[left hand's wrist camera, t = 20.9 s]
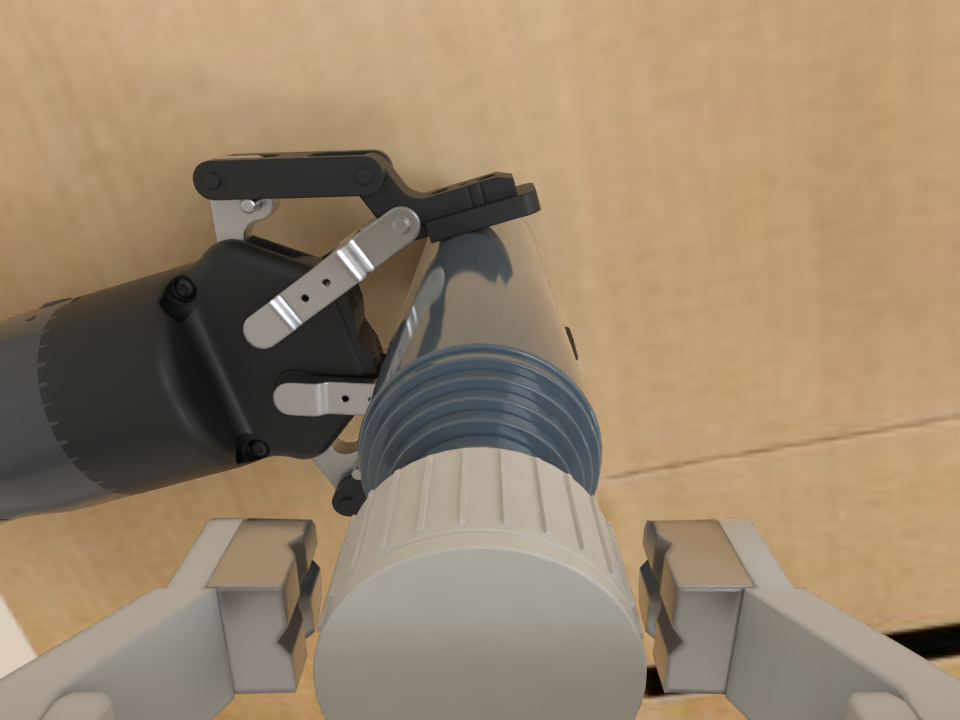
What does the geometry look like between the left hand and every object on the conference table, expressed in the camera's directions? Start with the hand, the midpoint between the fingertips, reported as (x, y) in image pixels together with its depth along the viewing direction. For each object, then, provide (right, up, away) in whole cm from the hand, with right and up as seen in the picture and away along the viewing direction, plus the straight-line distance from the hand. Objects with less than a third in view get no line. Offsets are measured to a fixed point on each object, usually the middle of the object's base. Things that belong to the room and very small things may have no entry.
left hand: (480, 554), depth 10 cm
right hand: (+2, +6, +13) cm, 15 cm away
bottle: (0, +8, +20) cm, 21 cm away
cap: (0, -1, -2) cm, 2 cm away
